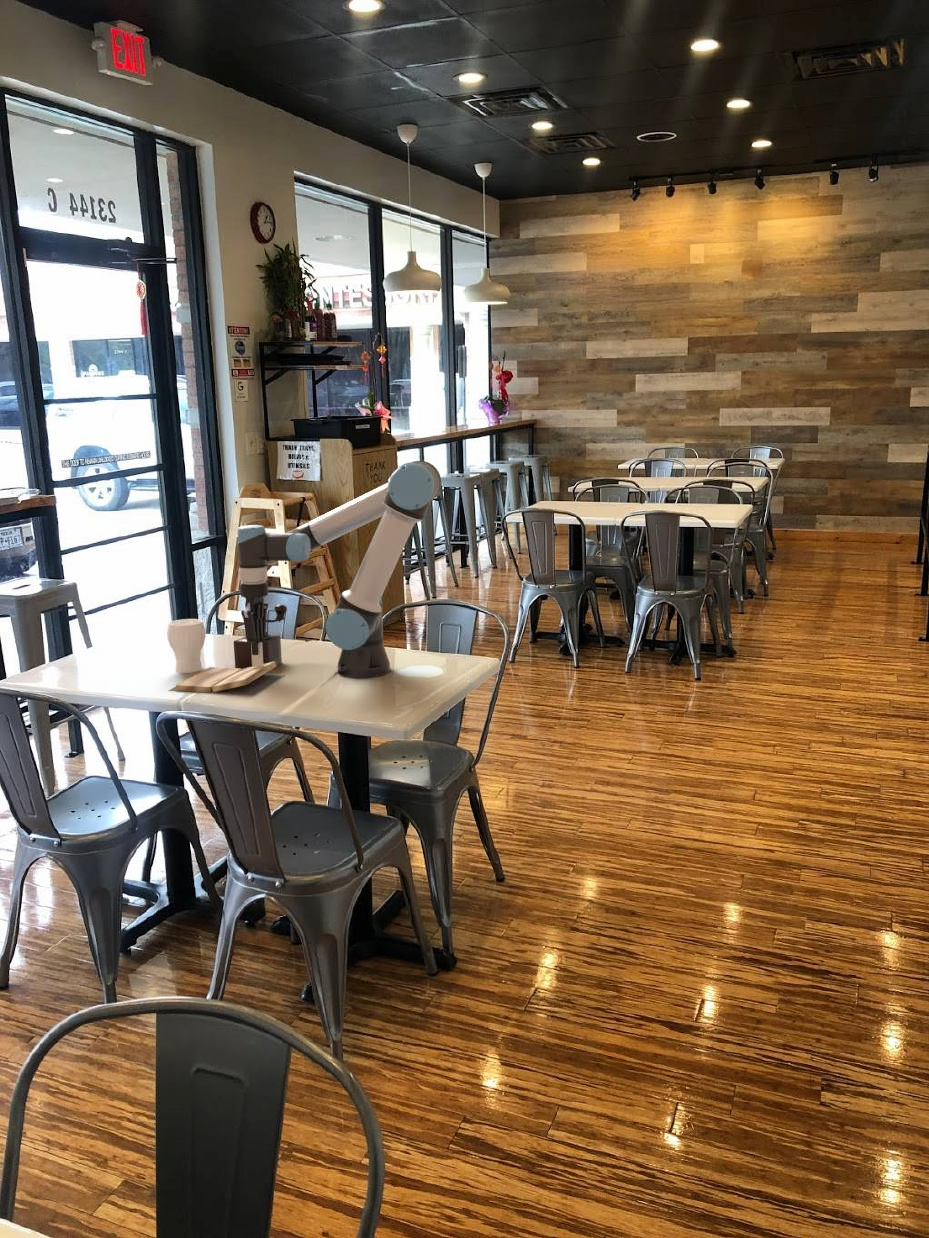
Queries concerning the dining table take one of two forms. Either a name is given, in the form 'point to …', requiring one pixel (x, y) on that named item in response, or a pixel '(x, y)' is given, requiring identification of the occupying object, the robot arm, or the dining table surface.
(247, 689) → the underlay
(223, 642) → the dining table surface
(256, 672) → the plank
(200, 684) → the plank
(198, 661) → the cup
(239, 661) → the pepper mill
